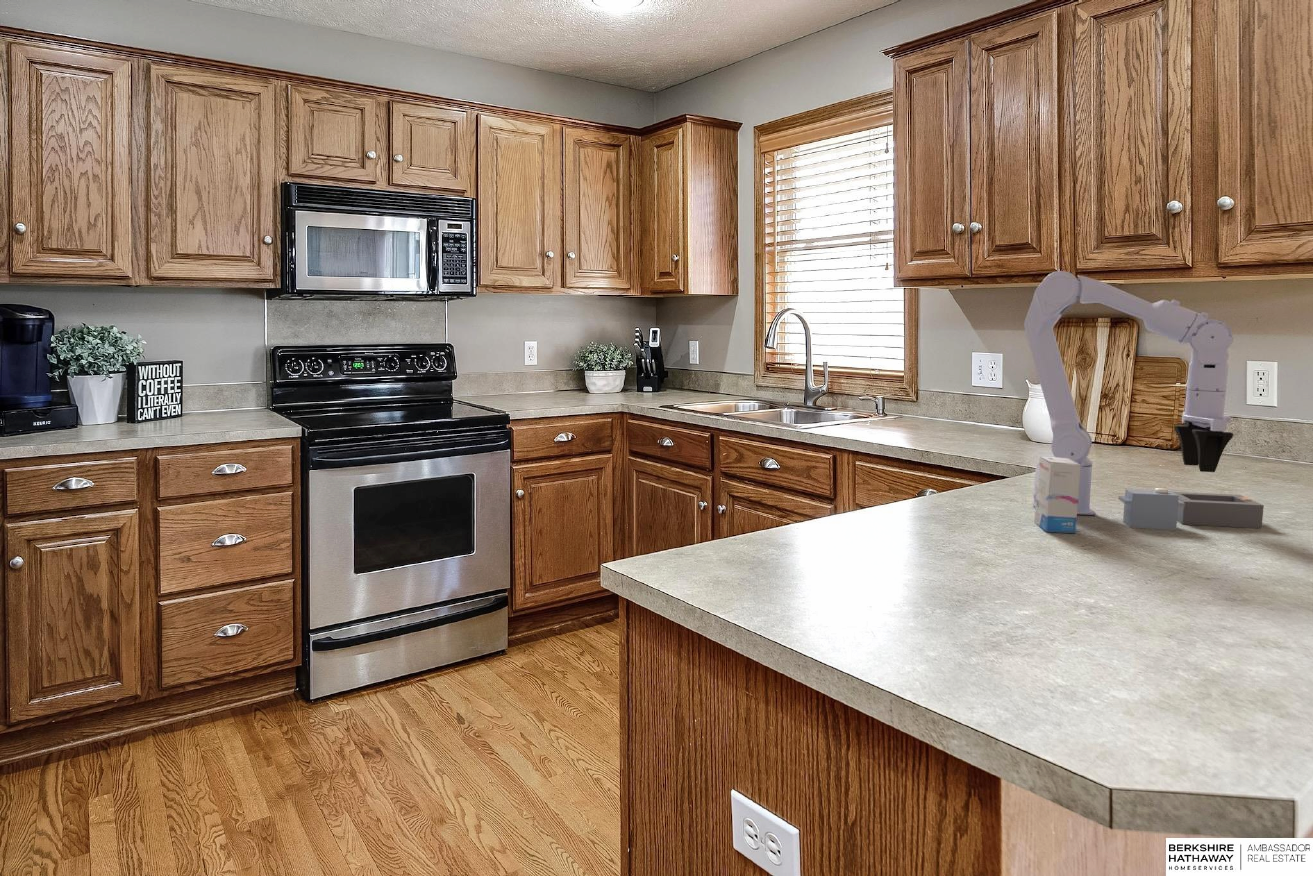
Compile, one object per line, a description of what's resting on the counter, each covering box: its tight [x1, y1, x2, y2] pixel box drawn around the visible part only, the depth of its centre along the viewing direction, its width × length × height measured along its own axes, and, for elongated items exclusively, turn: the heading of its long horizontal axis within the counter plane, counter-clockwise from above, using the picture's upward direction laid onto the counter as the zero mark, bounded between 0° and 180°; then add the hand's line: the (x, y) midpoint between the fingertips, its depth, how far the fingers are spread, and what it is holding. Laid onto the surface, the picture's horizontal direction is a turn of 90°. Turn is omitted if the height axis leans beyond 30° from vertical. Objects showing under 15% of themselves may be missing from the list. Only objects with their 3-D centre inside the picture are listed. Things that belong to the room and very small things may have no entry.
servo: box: [1117, 487, 1185, 531], centre depth 146 cm, size 9×4×7 cm, turn 75°
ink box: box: [1033, 456, 1081, 534], centre depth 144 cm, size 8×5×12 cm, turn 168°
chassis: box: [1172, 491, 1264, 529], centre depth 150 cm, size 12×10×4 cm
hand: (1198, 468), depth 148 cm, fingers open, 7 cm apart
